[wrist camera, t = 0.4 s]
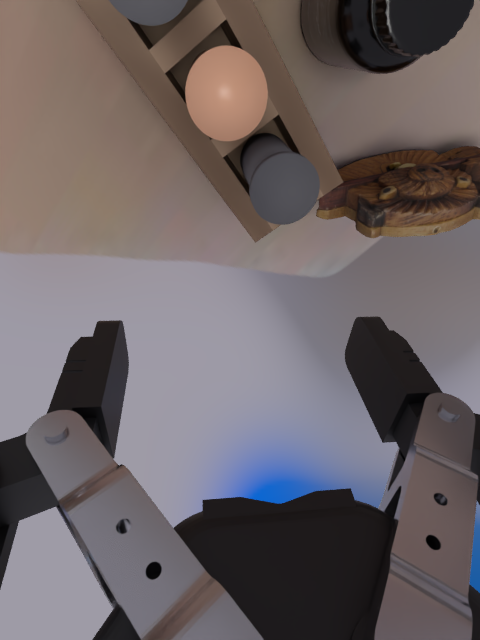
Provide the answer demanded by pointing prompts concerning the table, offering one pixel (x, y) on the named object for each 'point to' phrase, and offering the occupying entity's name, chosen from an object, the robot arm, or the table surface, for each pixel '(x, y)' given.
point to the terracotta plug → (226, 93)
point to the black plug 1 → (149, 10)
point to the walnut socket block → (170, 80)
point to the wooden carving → (408, 192)
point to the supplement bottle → (380, 31)
